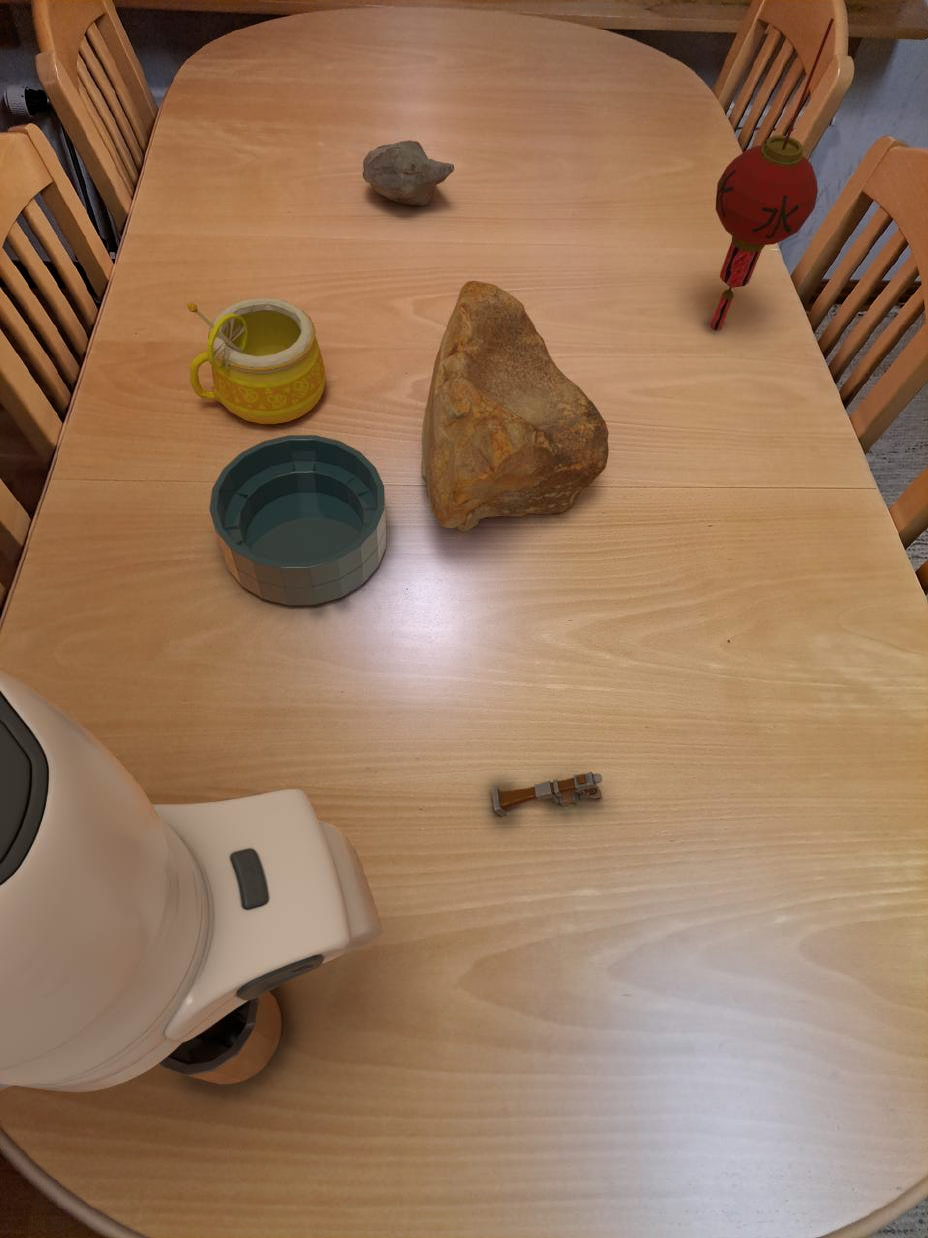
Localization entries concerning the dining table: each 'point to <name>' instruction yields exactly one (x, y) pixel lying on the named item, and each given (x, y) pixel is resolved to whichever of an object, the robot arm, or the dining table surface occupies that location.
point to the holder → (242, 1057)
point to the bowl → (300, 519)
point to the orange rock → (504, 418)
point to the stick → (226, 1029)
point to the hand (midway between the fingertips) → (182, 1000)
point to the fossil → (404, 172)
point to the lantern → (763, 202)
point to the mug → (262, 361)
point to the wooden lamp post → (549, 792)
